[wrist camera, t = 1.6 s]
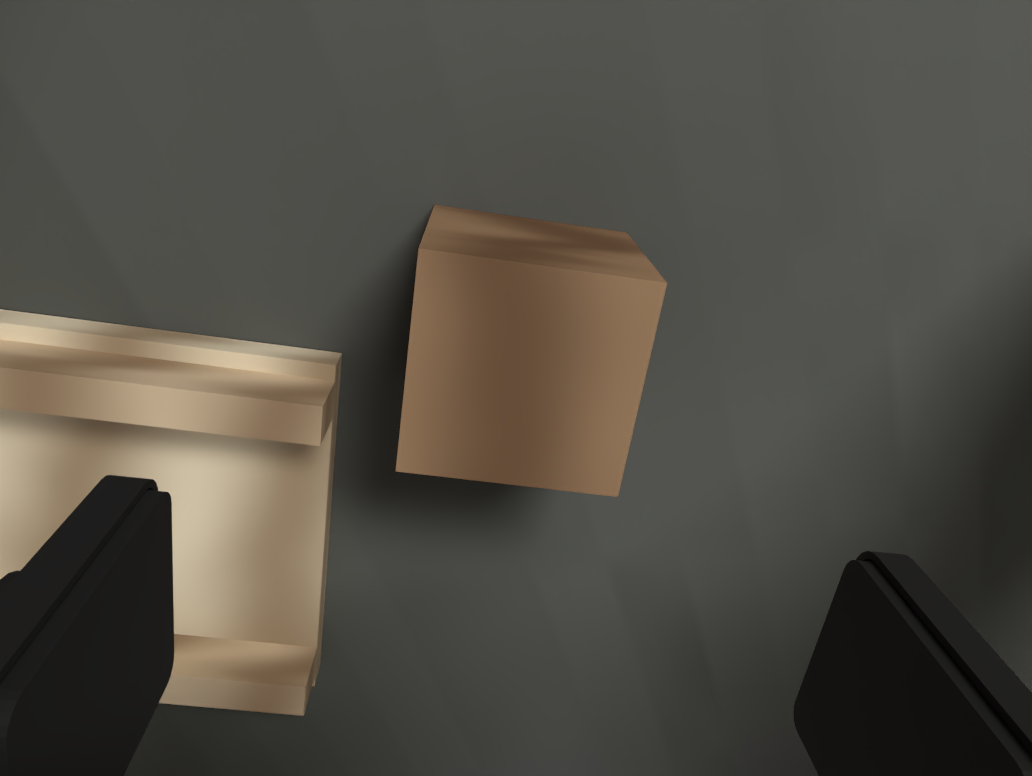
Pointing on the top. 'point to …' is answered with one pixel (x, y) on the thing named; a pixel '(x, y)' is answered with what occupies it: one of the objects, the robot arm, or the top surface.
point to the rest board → (186, 483)
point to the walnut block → (526, 352)
